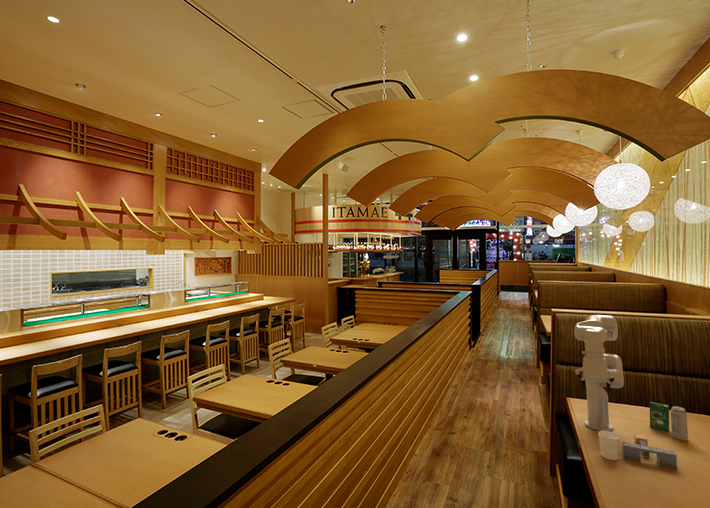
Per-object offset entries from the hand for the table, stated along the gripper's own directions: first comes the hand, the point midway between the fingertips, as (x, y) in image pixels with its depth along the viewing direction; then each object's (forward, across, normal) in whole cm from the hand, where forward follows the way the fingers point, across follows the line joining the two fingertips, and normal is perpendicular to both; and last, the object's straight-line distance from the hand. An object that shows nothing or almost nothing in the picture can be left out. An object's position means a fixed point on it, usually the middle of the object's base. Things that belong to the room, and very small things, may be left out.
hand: (595, 389), depth 177 cm
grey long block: (+26, +18, -9) cm, 33 cm away
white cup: (+26, +3, -12) cm, 29 cm away
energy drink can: (+26, +36, +24) cm, 51 cm away
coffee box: (+26, +30, +33) cm, 52 cm away
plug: (+26, +18, +3) cm, 32 cm away
